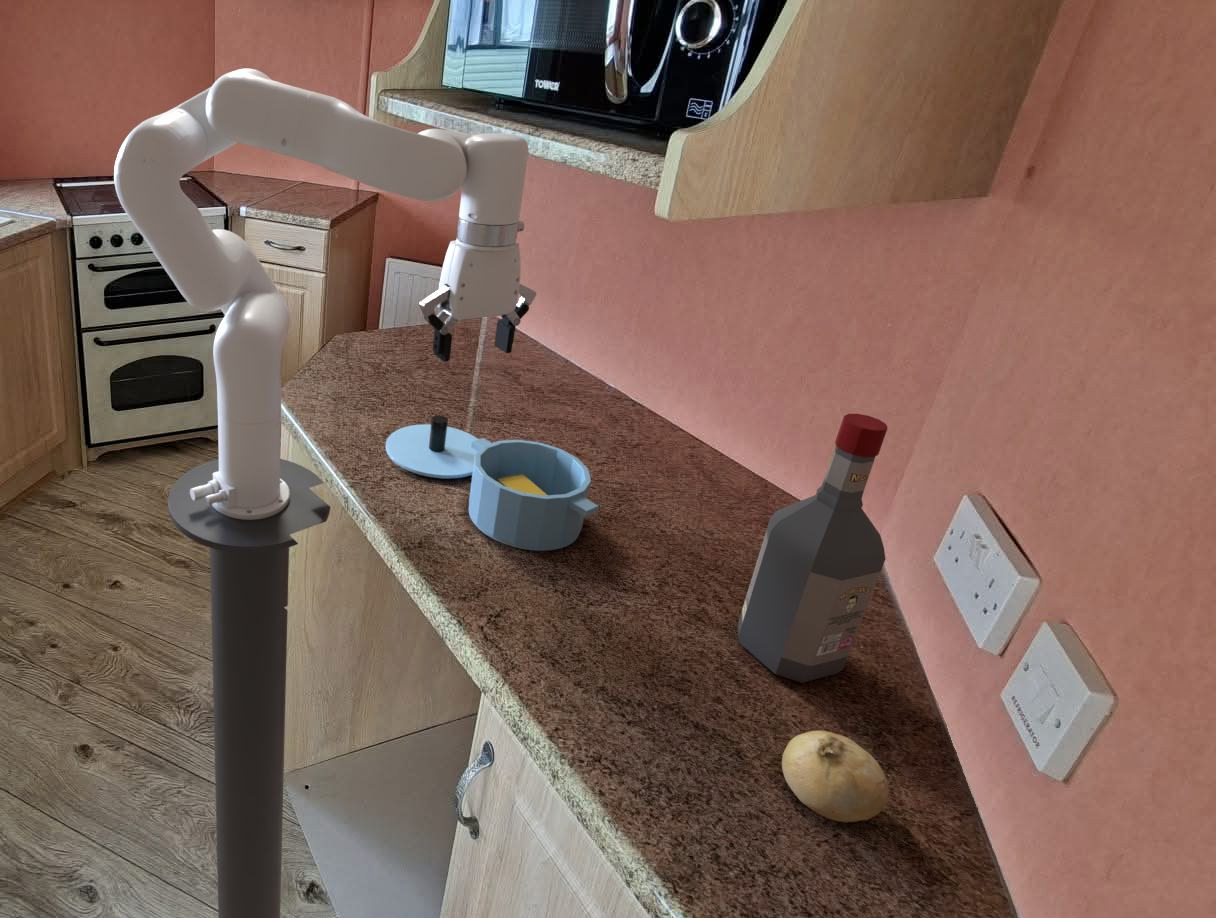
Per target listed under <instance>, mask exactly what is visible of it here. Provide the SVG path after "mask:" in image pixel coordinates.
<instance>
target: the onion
mask: <svg viewBox="0 0 1216 918" xmlns="http://www.w3.org/2000/svg"><path fill="white" fill-rule="evenodd" d="M781 768H782V774H783V777H784V780H785V782H786V784H787V785H788V787H789V788H790V790H791V791H792V792H793V794H794V795H795V796H796V797H797V798H798V800H799V801H800V802H801V803H802V804H803V805H805V806H806V807H808V808H809V809H810V810H811V811H813V812H815V813H816V814H818V815H820V816H821V817H824V818H826V819H828V820H831V821H834V822H840V823H846V824H848V822H849V823H858V822H860V821H868V820H870V819H871V818H873V817H875V816H877V815H878V814H879V813H881V812H882V811H883V810H884V809H885V806H886V805H887V802H888V799H889V791H890V790H889V789H890V788H889V783H888V779H887V777H886V774H885V772H884V770H883V769H882V767H881V765H880V764H879V763H878V761H877V760H876V759H875V757H873V756H872V755H871V754H870V753H869V752H868V751H867V750H866V749H864V748H863V747H861V746H860V745H859V744H857V743H856V742H855V741H853V739H850V738H848V737H846V736H844V735H841V734H838V733H835V732H831V731H827V730H811V731H807V732H806V731H805V732H803V733H800V734H798V735H796V736H794V737H793V738H791V739H790V740H789V742H788V743H787V744H786V747H785V749H784V751H783V753H782V758H781Z"/></svg>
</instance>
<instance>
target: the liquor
mask: <svg viewBox="0 0 1216 918" xmlns="http://www.w3.org/2000/svg"><path fill="white" fill-rule="evenodd" d="M887 432H888V425H887V423H885V422H884V421H883V420H881V419H879V418H876V417H873V416H870V415H866V414H860V413H848V414H845V415H844V416H843V418H842V420H841V423H840V426H839V429H838V432H837V435H836V437H835V441H834V443H835V447H834V451H833V453H832V456H831V459H830V462H829V465H828V467H827V470H826V473H825V476H824V479H823V481H822V484H821V485H820V486H819V488H817V489H816V492H815V494H814V495H812V496H809V497H807V498H804V499H802V500H799V501H797V502H794V503H791V504H789V505H787V506H784V507H782V508H780V509H777V510H776V511H775V512H774V513H773V514H772V515H771V516H770V518H769V521H768V525H767V527H766V530H765V534H764V537H763V541H762V544H761V546H760V547H761V548H760V549H759V553H758V557H757V560H756V563H755V567H754V570H753V573H752V576H751V579H750V582H749V586H748V588H747V592H746V596H745V599H744V601H743V606H742V608H741V612H740V615H739V618H738V622H737V638H738V640H739V644H740V645H741V646H742V647H743V648H744V649H745V650H747V651H748V652H749V653H750V654H752V656H753V657H755V658H756V659H757V660H758V661H759V662H760V663H762V664H763V665H764V666H765V667H766V668H767V669H768V670H769V671H771V672H772V673H773V674H774V675H776V676H779V677H782V678H785V679H788V680H792V681H794V682H797V683H800V684H804V683H807V682H810V681H814V680H817V679H821V678H826V677H830V676H833V675H836V674H838V673H840V672H841V671H843V670H844V669H845V666H846V664H847V661H848V658H849V655H850V653H851V651H852V648H853V645H854V643H855V640H856V637H857V634H858V632H859V629H860V627H861V624H862V622H863V619H864V616H865V614H866V612H867V609H868V606H869V603H870V601H871V598H872V596H873V594H874V590H875V588H876V585H877V582H878V580H879V577H880V575H881V572H882V569H883V567H884V564H885V563H886V551H885V547H884V542H883V539H882V536H881V533H880V532H879V531H878V529H877V527H875V525H874V523H873V522H872V521H871V519H870V518H869V517H868V515H867V514H866V512H865V511H864V509H863V506H864V504H863V499H862V498H863V495H864V493H865V489H866V486H867V483H868V481H869V477H870V474H871V472H872V469H873V465H874V463H875V459H876V457H877V456H879V455H880V452H881V449H882V447H883V446H882V445H883V443H884V440H885V437H886V434H887Z"/></svg>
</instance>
